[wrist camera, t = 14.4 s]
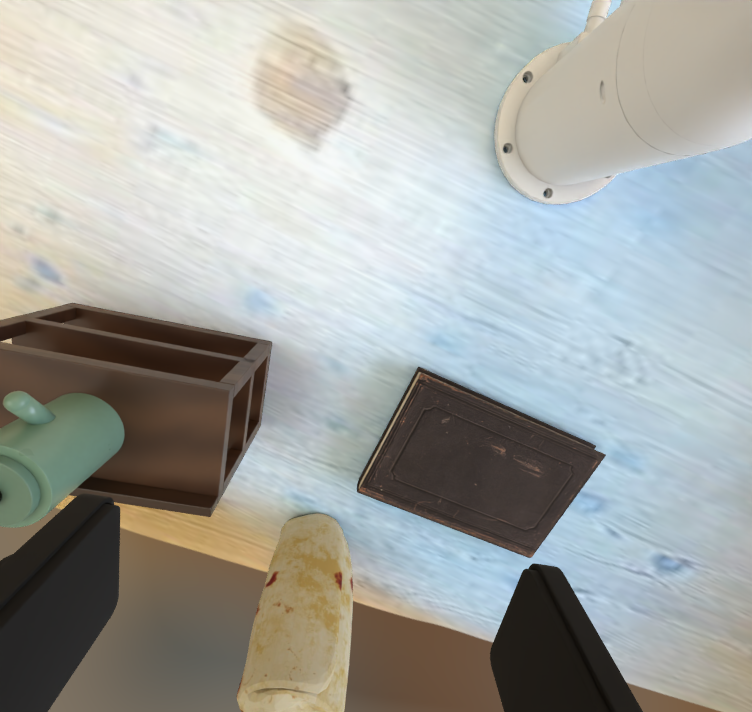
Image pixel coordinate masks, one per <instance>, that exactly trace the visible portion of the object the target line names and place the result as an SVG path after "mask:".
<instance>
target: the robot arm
mask: <svg viewBox="0 0 752 712" xmlns="http://www.w3.org/2000/svg"><path fill="white" fill-rule="evenodd" d="M611 2H612V1H611V0H593V2H592V4H591V8H590V11H589V14H588V17H587V24H586V27H585V30H584V32H582V33H580V34H579V35H578V36H577V37H576V38H575V39H574V40H573V41H572V42H568V43H562V44H560V45H557V46H554V47H551V48H549V49H547V50H546V51H544V52H542V53H541V54H539V55H537V56H536V57H535V58H534V59H532V60H531V61H530V62H529V63H528V64H527V65H526V66H525V67H524V68H523V69H522V70H521V71H520V72H519V73H518V74H517V75H516V77H515V78H514V79H513V81H512V82H511V84H510V85H509V87H508V88H507V90H506V92H505V94H504V96H503V99H502V101H501V103H500V106H499V109H498V113H497V117H496V121H495V132H494V140H495V151H496V155H497V159H498V163H499V165H500V167H501V170H502V172H503V174H504V176H505V177H506V179H507V180H508V181H509V183H510V184H511V185H512V186H513V187H514V188H515V189H516V190H517V191H518V192H519V193H520V194H522V195H524V196H525V197H527V198H529V199H531V200H533V201H536V202H540V203H543V204H554V205H558V204H567V203H571V202H576V201H580V200H582V199H584V198H587V197H589V196H591V195H593V194H595V193H596V192H598V191H599V190H601V189H602V188H604V187H605V186H606V185H607V184H608V183H609V182H610V181H612V180H613V179H614V178H615V176H616V175H617V174H620V173H624V172H628V171H633V170H637V169H641V168H646V167H650V166H654V165H658V164H663V163H667V162H671V161H676V160H680V159H684V158H688V157H693V156H697V155H701V154H706V153H708V152H713V151H717V150H721V149H725V148H728V147H731V146H734V145H737V144H740V143H743V142H745V141H748V140H750V139H752V0H621V4H620V7H619V8H618V9H616V10H615V11H614V12H613V13H612V14H611V15H610V16H609V17H608V18H606V17H607V14H608V11H609V8H610V5H611ZM523 78H525V79H526V83H525V82H524V81H523ZM504 147H505V148H507V152H506V153H504V151H503V148H504ZM544 191H545V192H546V196H545V197H544V196H543V192H544ZM119 540H120V507H119V506H116V505H114V500H113V499H112V498H111V497H106V496H99V495H93V494H86V493H83V494H80V495H78V496H77V497H76V498H75V499H73V500H72V501H71V502H70V503H69V504H68V505H67V506H66V507H65V508H64V509H62V510H61V511H60V512H59V513H58V514H57V515H56V516H55V517H54V518H53V519H52V520H50V521H49V522H48V523H47V524H46V525H45V526H44V527H43V528H42V529H40V530H39V531H38V532H37V533H36V534H35V535H34V536H33V537H32V538H31V539H29V540H28V541H27V542H26V543H25V544H24V545H23V546H22V547H21V548H20V549H19V550H17V551H16V552H15V553H14V554H12V555H10V556H8V557H6V558H4V559H3V560H1V561H0V712H48V710H49V709H50V707H51V706H52V704H53V703H54V701H55V700H56V698H57V697H58V695H59V694H60V692H61V691H62V689H63V688H64V686H65V685H66V683H67V682H68V680H69V679H70V677H71V676H72V674H73V673H74V671H75V670H76V668H77V666H78V665H79V664H80V662H81V661H82V659H83V658H84V656H85V655H86V653H87V652H88V650H89V649H90V647H91V646H92V644H93V643H94V641H95V640H96V638H97V637H98V635H99V634H100V632H101V631H102V629H103V628H104V626H105V625H106V623H107V622H108V620H109V619H110V617H111V616H112V614H113V612H114V610H115V607H116V605H117V601H118V596H119V546H120V544H119V543H120V541H119ZM490 660H491V666H492V670H493V674H494V677H495V681H496V684H497V687H498V691H499V695H500V698H501V702H502V705H503V709H504V712H643V711H642V709H641V708H640V706H639V704H638V703H637V701H636V699H635V697H634V696H633V694H632V692H631V690H630V689H629V687H628V685H627V683H626V682H625V680H624V678H623V676H622V675H621V673H620V671H619V669H618V668H617V666H616V664H615V662H614V661H613V659H612V657H611V656H610V654H609V652H608V650H607V649H606V647H605V645H604V643H603V642H602V640H601V638H600V636H599V635H598V633H597V631H596V629H595V628H594V626H593V624H592V623H591V621H590V619H589V617H588V616H587V614H586V612H585V610H584V609H583V607H582V605H581V603H580V602H579V600H578V598H577V596H576V595H575V593H574V591H573V589H572V588H571V586H570V584H569V583H568V581H567V579H566V577H565V576H564V574H563V572H562V571H561V570H560V569H559V568H558V567H554V566H547V565H541V564H532V565H531V566H530V567H529V569H525V570H523V572H522V574H521V577H520V579H519V582H518V584H517V586H516V589H515V591H514V594H513V596H512V598H511V601H510V603H509V606H508V608H507V611H506V613H505V615H504V618H503V620H502V623H501V625H500V628H499V630H498V632H497V635H496V637H495V640H494V642H493V645H492V648H491V652H490Z"/></svg>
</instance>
